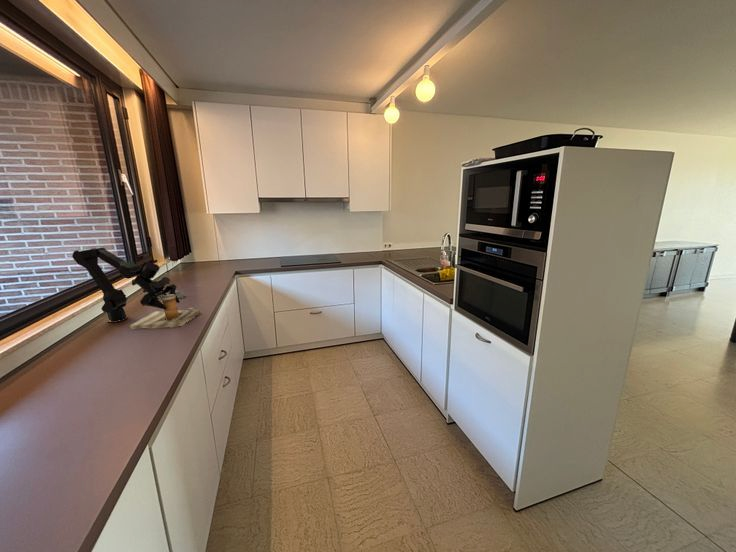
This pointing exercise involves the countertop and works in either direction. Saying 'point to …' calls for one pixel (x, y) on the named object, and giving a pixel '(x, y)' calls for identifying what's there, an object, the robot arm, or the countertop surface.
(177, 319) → the cross bar
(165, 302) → the cord reel
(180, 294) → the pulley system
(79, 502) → the countertop surface
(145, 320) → the rectangular frame
